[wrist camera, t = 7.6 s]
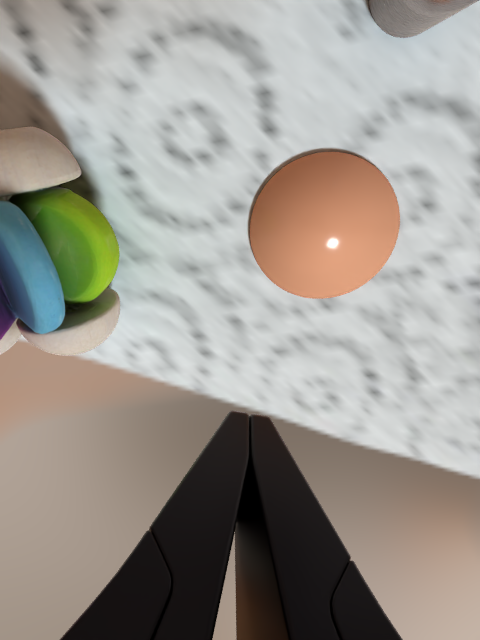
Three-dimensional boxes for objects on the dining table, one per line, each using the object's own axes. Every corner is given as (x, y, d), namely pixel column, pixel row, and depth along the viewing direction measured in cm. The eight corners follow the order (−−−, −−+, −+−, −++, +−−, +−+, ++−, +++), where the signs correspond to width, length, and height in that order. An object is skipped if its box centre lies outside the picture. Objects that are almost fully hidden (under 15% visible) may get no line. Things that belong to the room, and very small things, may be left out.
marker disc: (422, 169, 15) (423, 169, 15) (369, 308, 18) (370, 309, 18) (267, 136, 15) (267, 136, 15) (237, 283, 18) (237, 284, 18)
